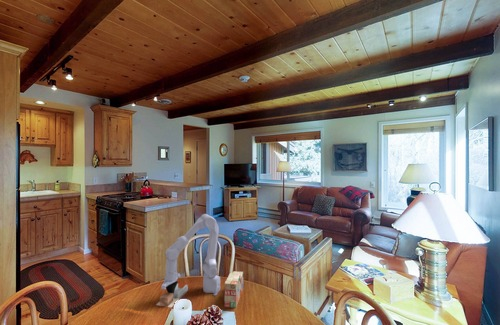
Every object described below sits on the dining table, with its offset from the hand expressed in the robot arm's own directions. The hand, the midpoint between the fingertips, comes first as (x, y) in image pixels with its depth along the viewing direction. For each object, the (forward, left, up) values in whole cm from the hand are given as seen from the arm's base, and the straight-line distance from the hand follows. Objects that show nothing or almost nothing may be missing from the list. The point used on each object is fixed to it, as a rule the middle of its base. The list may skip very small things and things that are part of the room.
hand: (170, 296), depth 121 cm
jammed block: (0, +4, -1) cm, 4 cm away
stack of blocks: (-32, -13, -3) cm, 34 cm away
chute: (0, -3, -2) cm, 3 cm away
